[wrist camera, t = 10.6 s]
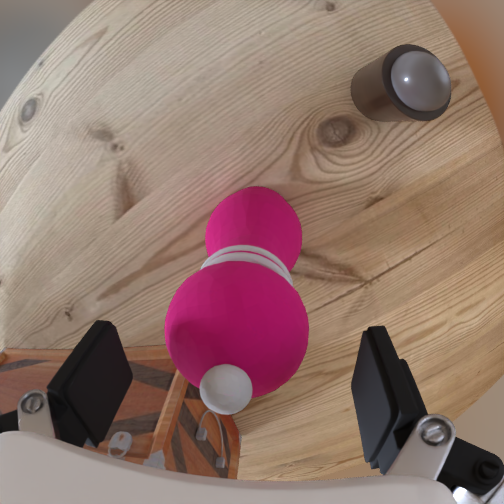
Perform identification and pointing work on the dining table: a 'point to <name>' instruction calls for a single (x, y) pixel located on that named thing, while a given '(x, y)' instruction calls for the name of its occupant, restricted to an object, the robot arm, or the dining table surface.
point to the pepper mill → (241, 304)
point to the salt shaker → (402, 86)
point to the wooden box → (141, 412)
